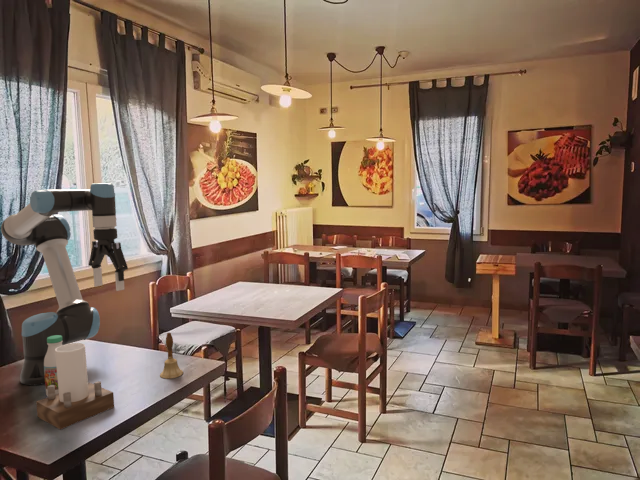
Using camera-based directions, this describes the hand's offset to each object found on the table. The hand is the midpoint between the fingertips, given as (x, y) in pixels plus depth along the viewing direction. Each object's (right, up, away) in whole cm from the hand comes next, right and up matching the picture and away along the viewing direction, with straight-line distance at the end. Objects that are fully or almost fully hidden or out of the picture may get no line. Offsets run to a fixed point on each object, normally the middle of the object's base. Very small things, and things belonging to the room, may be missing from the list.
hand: (109, 288), depth 170 cm
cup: (-2, -32, -19) cm, 38 cm away
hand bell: (+19, -34, +10) cm, 40 cm away
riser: (-2, -37, -19) cm, 42 cm away
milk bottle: (-15, -36, -4) cm, 39 cm away
